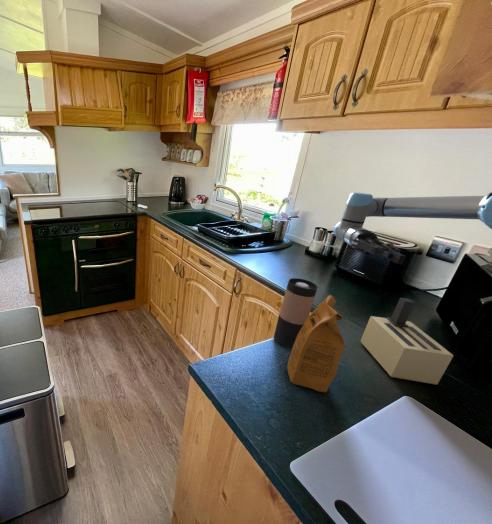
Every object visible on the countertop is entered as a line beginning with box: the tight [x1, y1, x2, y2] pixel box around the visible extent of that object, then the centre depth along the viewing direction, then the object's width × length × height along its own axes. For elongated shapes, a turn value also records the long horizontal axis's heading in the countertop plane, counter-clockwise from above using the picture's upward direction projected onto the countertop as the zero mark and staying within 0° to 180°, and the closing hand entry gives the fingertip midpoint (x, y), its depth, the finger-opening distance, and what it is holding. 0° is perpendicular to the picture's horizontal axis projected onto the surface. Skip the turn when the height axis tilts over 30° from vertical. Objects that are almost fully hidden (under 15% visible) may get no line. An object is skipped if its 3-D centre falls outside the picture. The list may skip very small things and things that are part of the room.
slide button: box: [386, 297, 416, 328], centre depth 83 cm, size 4×4×8 cm
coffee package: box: [286, 294, 346, 393], centre depth 72 cm, size 10×12×22 cm
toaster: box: [359, 315, 454, 385], centre depth 82 cm, size 16×11×10 cm
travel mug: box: [273, 277, 319, 349], centre depth 86 cm, size 8×8×20 cm
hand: (401, 260), depth 86 cm, fingers closed
